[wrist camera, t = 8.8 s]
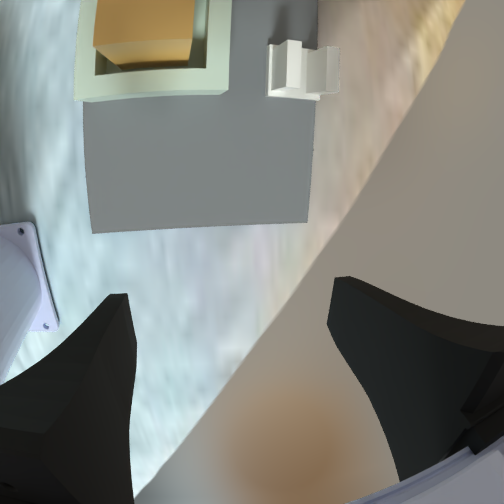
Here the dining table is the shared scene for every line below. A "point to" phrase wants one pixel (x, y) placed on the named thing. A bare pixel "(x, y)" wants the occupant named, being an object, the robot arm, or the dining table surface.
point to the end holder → (157, 78)
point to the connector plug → (144, 32)
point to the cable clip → (301, 71)
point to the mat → (208, 141)
